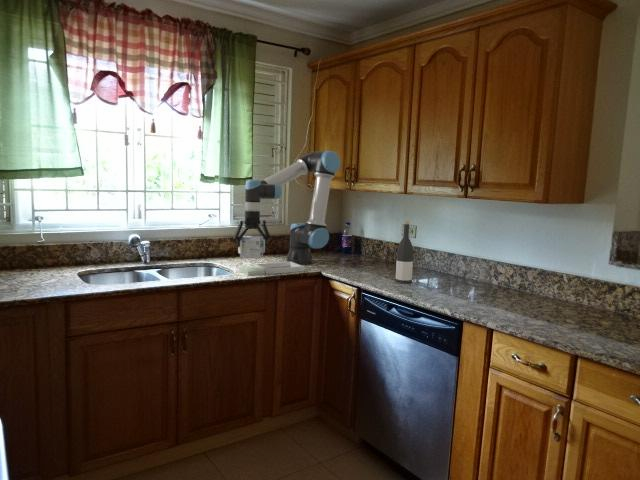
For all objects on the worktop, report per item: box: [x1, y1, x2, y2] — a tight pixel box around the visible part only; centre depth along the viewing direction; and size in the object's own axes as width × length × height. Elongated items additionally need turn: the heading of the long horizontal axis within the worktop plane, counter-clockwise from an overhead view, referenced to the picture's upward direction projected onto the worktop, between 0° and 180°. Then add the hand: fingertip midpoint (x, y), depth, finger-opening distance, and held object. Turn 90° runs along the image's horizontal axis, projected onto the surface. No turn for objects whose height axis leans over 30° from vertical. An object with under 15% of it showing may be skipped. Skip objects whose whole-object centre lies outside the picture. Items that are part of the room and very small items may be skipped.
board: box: [238, 265, 265, 276], centre depth 252 cm, size 9×12×2 cm
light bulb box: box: [239, 235, 264, 260], centre depth 250 cm, size 11×7×11 cm, turn 84°
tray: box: [253, 261, 305, 275], centre depth 262 cm, size 22×16×2 cm
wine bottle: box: [395, 220, 414, 285], centre depth 240 cm, size 8×8×30 cm
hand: (251, 252), depth 251 cm, fingers closed on light bulb box, 12 cm apart
